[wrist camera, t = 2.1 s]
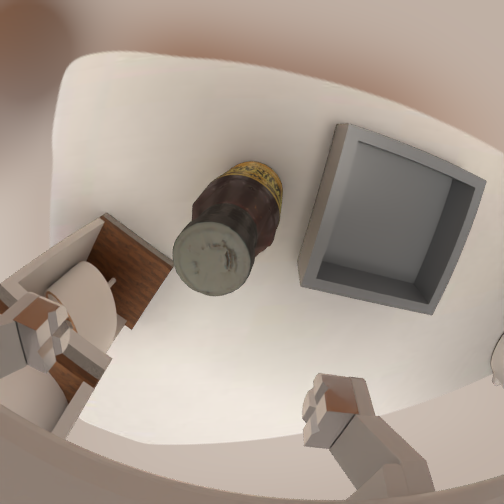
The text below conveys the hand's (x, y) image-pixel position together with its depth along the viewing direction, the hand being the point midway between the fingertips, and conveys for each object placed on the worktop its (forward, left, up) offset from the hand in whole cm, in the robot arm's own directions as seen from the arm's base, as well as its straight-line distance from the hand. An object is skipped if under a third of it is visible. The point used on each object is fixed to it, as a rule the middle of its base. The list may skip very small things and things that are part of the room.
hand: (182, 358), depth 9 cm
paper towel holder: (+14, +14, -27) cm, 33 cm away
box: (-15, -1, -27) cm, 31 cm away
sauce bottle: (0, 0, -27) cm, 27 cm away
